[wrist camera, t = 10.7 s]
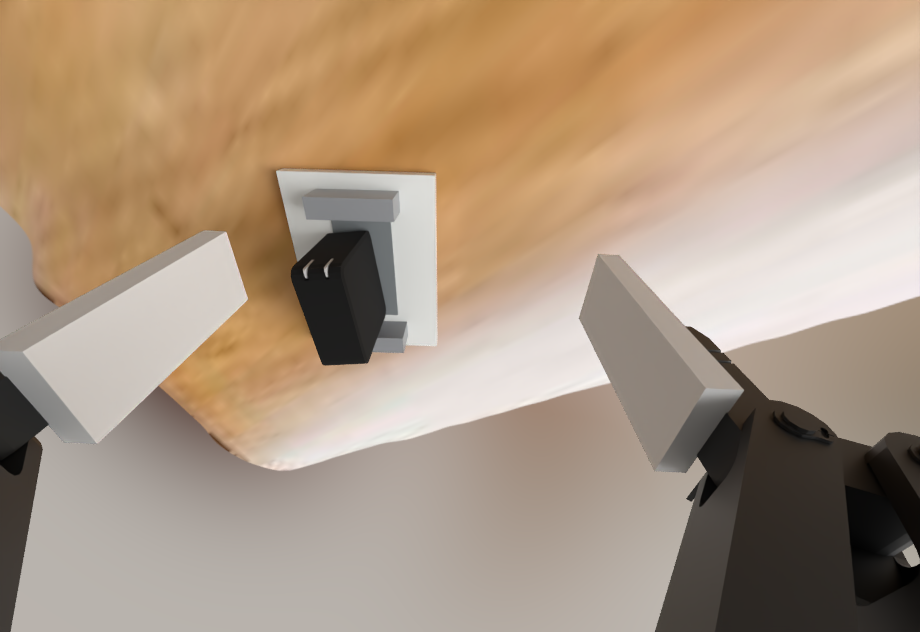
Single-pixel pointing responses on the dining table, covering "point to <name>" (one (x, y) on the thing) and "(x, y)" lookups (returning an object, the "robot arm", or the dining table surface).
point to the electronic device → (341, 297)
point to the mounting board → (376, 238)
